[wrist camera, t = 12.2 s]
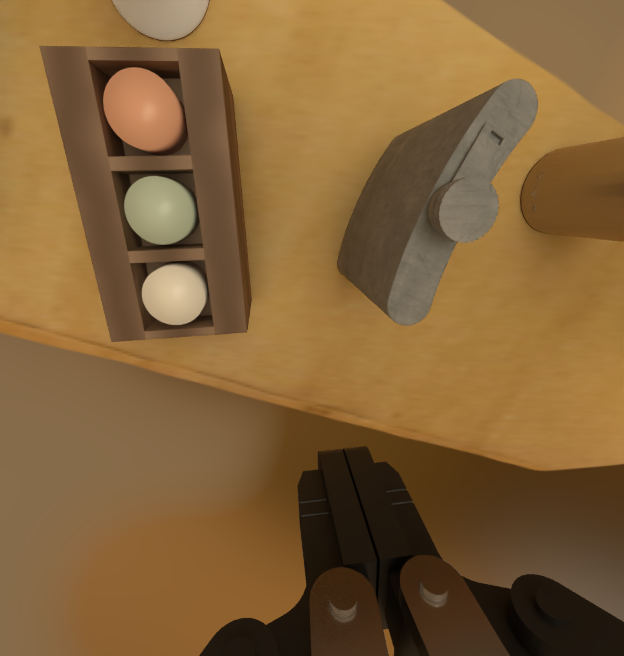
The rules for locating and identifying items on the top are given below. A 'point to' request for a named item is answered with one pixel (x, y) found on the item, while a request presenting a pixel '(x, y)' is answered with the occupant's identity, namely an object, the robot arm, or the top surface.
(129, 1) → the white bowl
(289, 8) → the top surface
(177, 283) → the pale beige egg
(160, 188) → the pale green egg
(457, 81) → the top surface
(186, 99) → the three egg wooden crate
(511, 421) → the top surface
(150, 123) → the orange brown egg
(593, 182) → the robot arm
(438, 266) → the hip flask
